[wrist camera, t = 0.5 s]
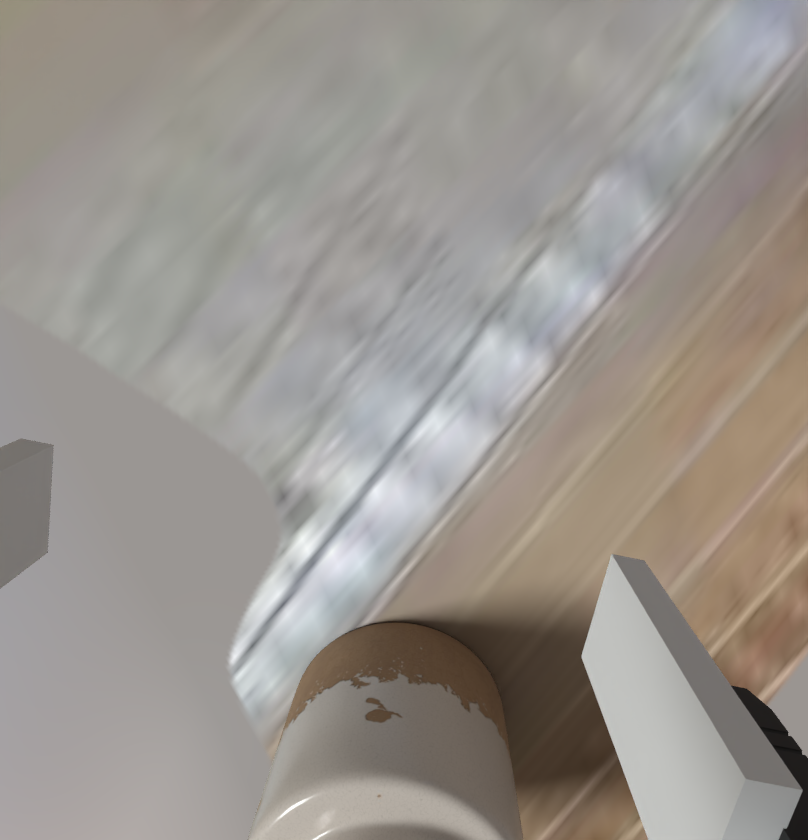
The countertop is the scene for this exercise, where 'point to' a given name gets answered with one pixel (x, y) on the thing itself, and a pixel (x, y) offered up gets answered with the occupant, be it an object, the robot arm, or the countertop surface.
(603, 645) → the robot arm
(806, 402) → the countertop surface
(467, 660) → the vase
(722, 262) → the countertop surface
